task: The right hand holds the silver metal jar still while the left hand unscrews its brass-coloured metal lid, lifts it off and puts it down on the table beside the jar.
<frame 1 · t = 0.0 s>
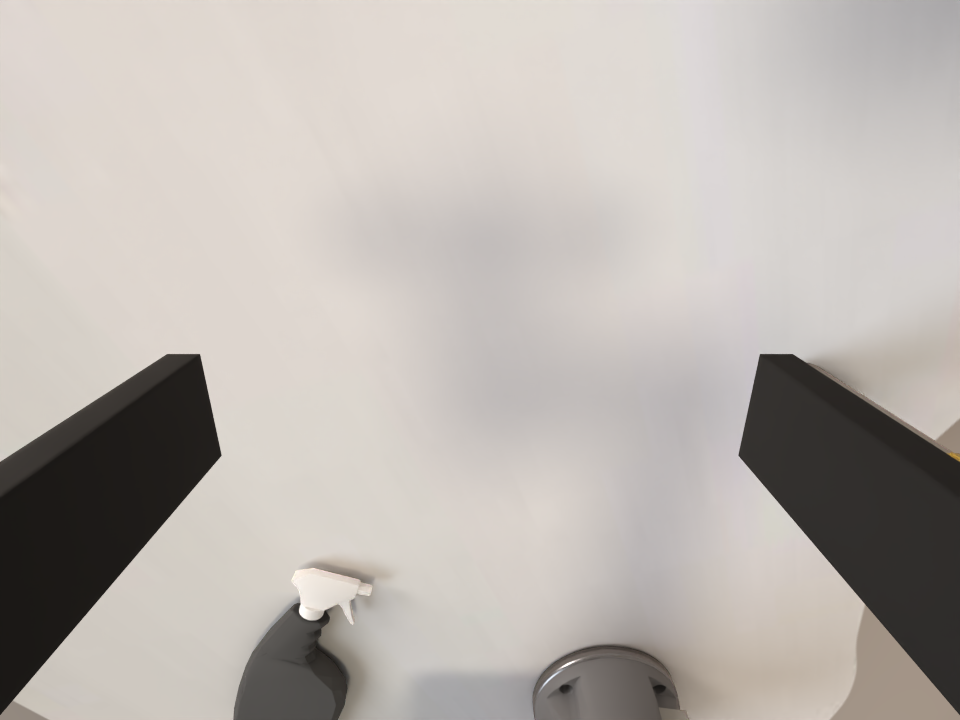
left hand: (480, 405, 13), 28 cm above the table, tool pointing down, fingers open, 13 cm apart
jar: (796, 390, 43), on the table
spray bottle: (307, 651, 54), on the table
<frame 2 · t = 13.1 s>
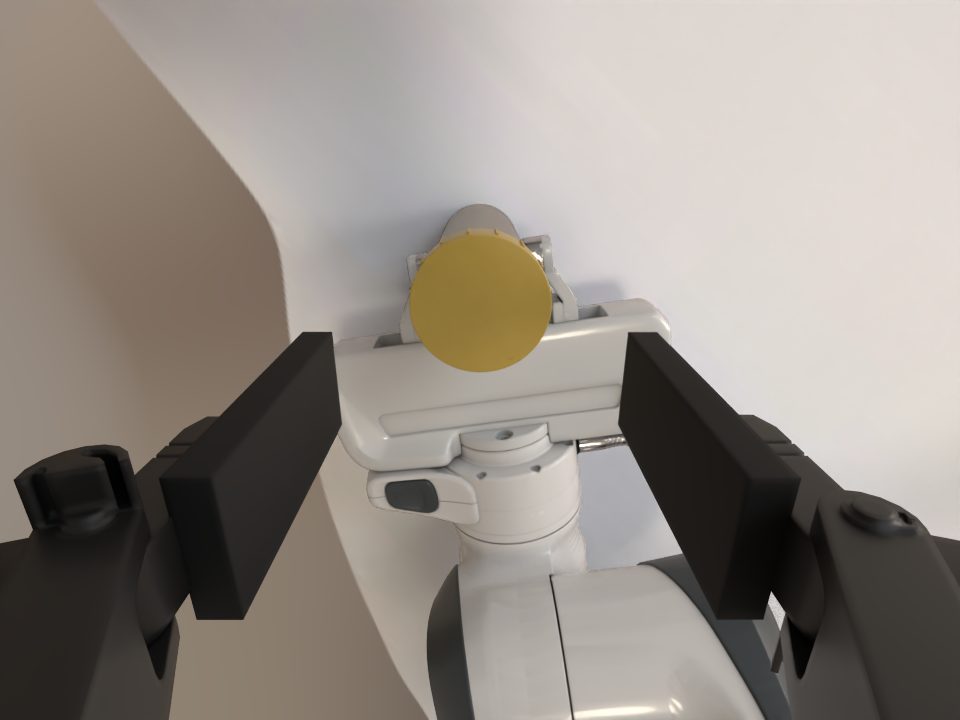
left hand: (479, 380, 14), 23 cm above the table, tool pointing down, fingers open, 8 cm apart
right hand: (477, 246, 29), fingers closed on jar, 5 cm apart
lid: (480, 304, 21), point 16 cm above the table, screwed on, not yet turned
jar: (480, 242, 35), on the table, touching right hand
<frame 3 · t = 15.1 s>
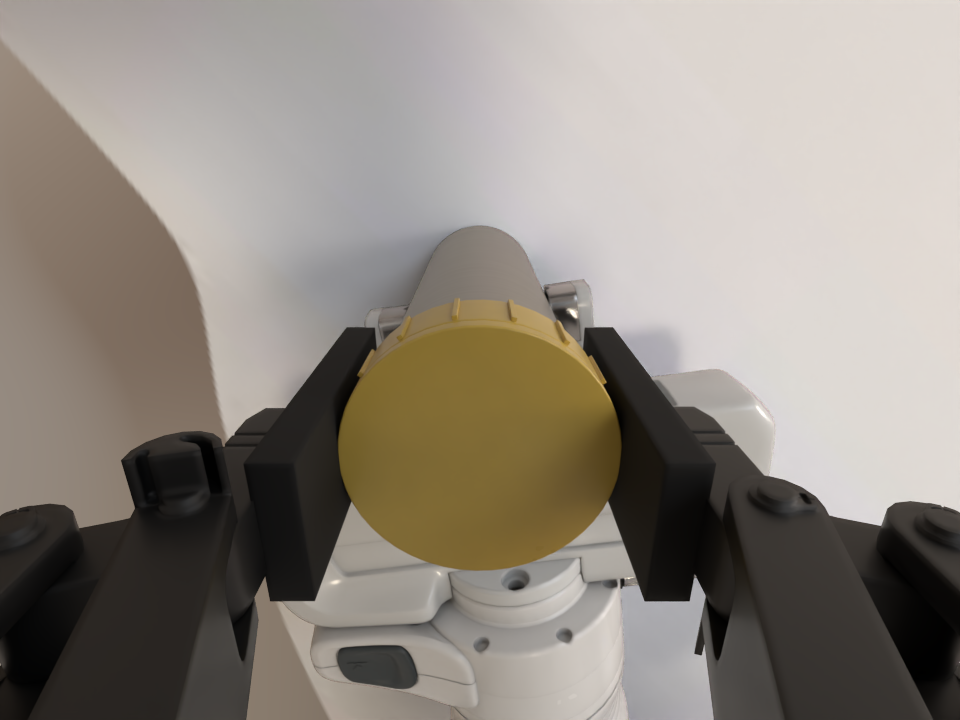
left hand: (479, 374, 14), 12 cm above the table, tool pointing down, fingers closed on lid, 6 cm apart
lid: (479, 451, 11), point 16 cm above the table, screwed on, not yet turned, touching left hand
jar: (479, 278, 25), on the table, touching right hand
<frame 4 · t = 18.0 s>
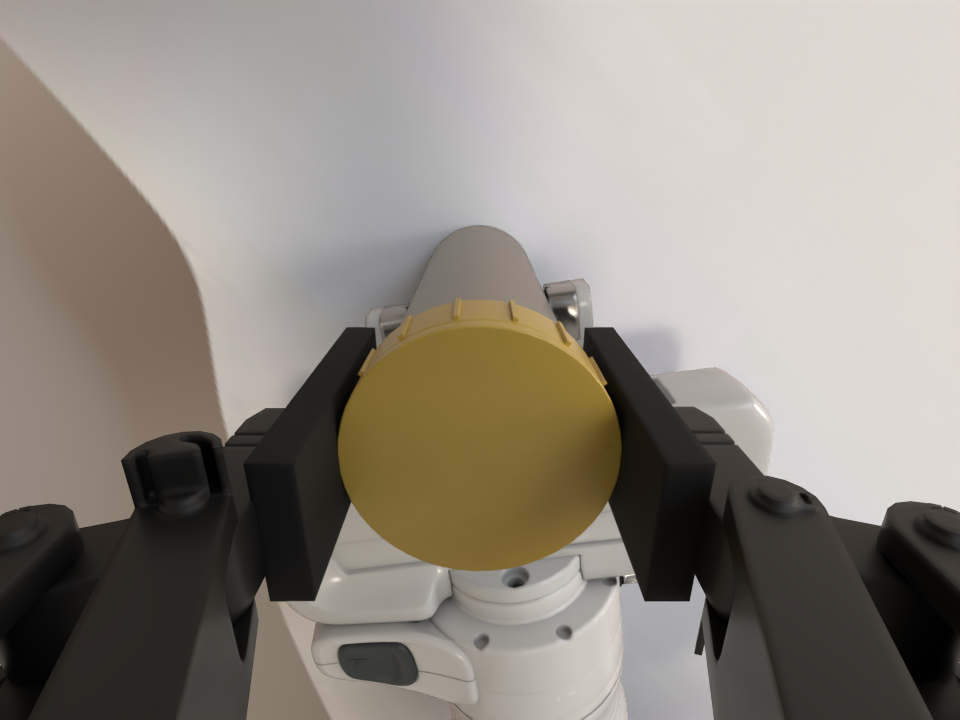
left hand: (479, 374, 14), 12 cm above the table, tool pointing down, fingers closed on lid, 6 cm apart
lid: (479, 451, 11), point 16 cm above the table, turned 67° so far, risen 0.1 cm, still on its thread, touching left hand
jar: (479, 278, 25), on the table, touching right hand
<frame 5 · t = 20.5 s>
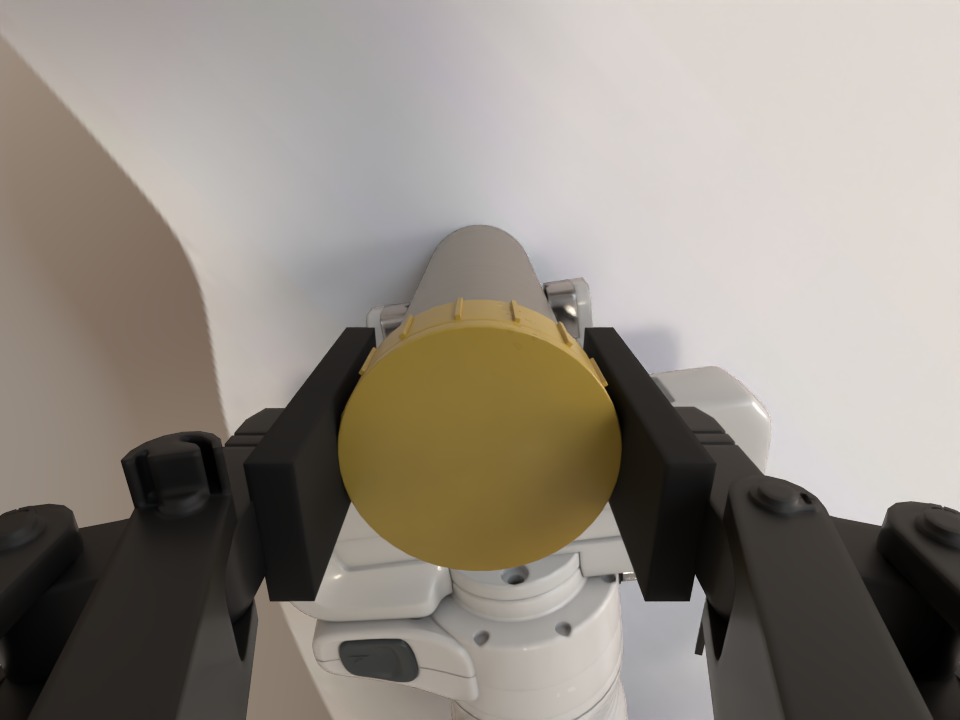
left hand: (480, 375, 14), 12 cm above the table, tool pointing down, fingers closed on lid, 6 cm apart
lid: (479, 451, 11), point 16 cm above the table, turned 134° so far, risen 0.3 cm, still on its thread, touching left hand
jar: (479, 277, 25), on the table, touching right hand
when the left hand's fingers open (1 cm above the table, at t = 25.6 s): lid drops 3 cm, point 1 cm above the table.
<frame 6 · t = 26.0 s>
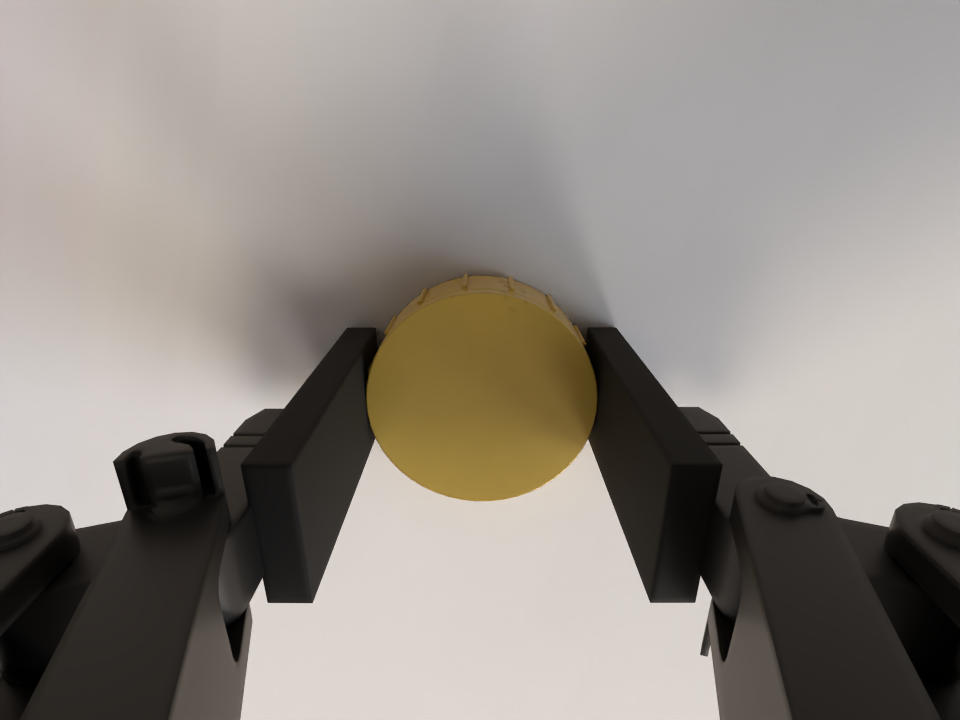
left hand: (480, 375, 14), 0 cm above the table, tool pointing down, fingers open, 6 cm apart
lid: (481, 399, 13), point 1 cm above the table, off its thread
when the right hand's fingers open (7 cm above the table, at t = 27.4 s): jar stays where it is, on the table.
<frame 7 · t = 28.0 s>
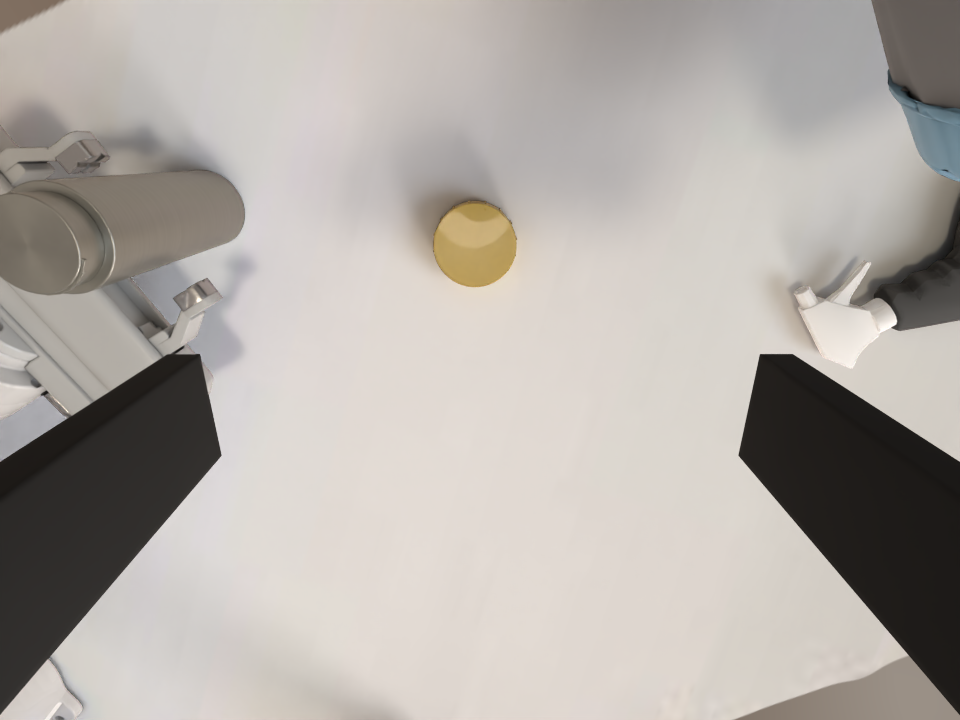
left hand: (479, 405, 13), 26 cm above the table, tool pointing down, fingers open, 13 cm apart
lid: (474, 245, 35), point 1 cm above the table, off its thread
jar: (208, 208, 36), on the table
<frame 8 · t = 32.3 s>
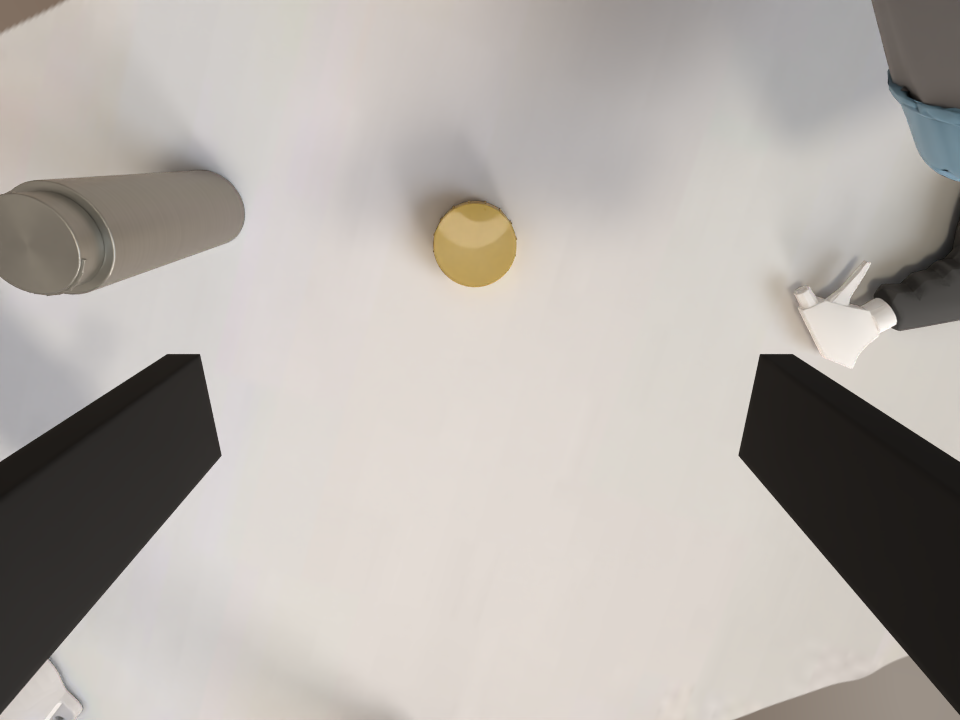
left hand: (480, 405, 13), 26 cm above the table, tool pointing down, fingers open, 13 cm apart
lid: (474, 245, 35), point 1 cm above the table, off its thread
jar: (208, 208, 36), on the table
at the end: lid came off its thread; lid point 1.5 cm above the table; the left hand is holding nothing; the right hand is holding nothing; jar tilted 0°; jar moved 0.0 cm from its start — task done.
